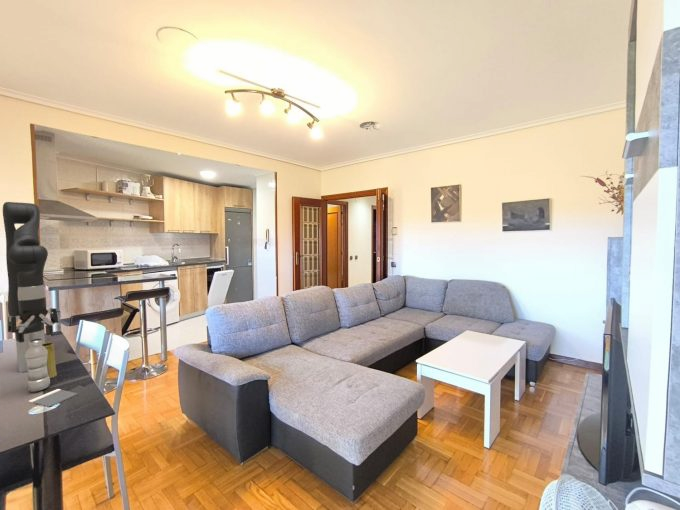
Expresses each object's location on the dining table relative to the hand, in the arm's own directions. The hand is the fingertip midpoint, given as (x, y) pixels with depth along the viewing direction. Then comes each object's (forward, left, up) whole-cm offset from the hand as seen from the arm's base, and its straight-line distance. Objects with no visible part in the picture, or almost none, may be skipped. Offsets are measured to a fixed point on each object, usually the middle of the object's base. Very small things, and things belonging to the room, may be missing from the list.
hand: (35, 338), depth 118 cm
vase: (-10, +8, -21) cm, 25 cm away
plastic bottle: (0, 0, -21) cm, 21 cm away
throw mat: (+13, -3, -21) cm, 25 cm away
